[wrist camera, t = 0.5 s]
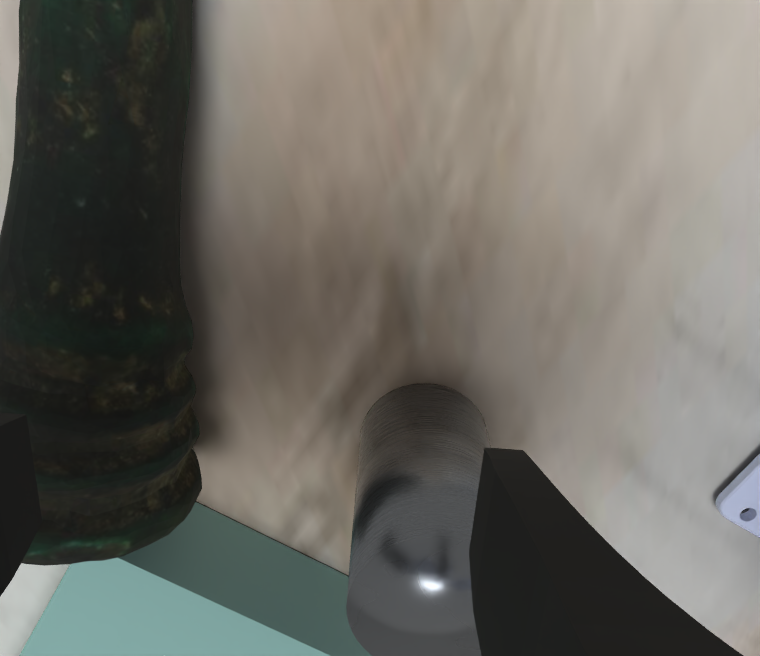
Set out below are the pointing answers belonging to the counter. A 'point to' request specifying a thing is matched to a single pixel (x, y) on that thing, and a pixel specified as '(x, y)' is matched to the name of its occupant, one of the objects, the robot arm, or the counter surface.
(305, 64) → the counter surface
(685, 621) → the robot arm
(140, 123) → the tool
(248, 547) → the hole block
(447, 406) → the pin
